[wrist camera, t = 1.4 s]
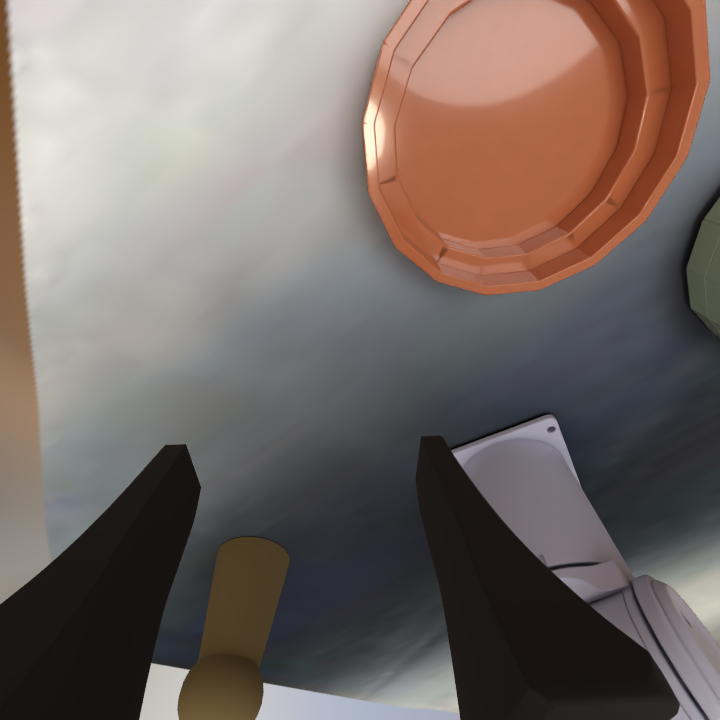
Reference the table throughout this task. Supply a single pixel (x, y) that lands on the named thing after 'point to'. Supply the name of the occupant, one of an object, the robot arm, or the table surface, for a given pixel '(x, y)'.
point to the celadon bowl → (706, 271)
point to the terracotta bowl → (529, 131)
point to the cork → (235, 632)
